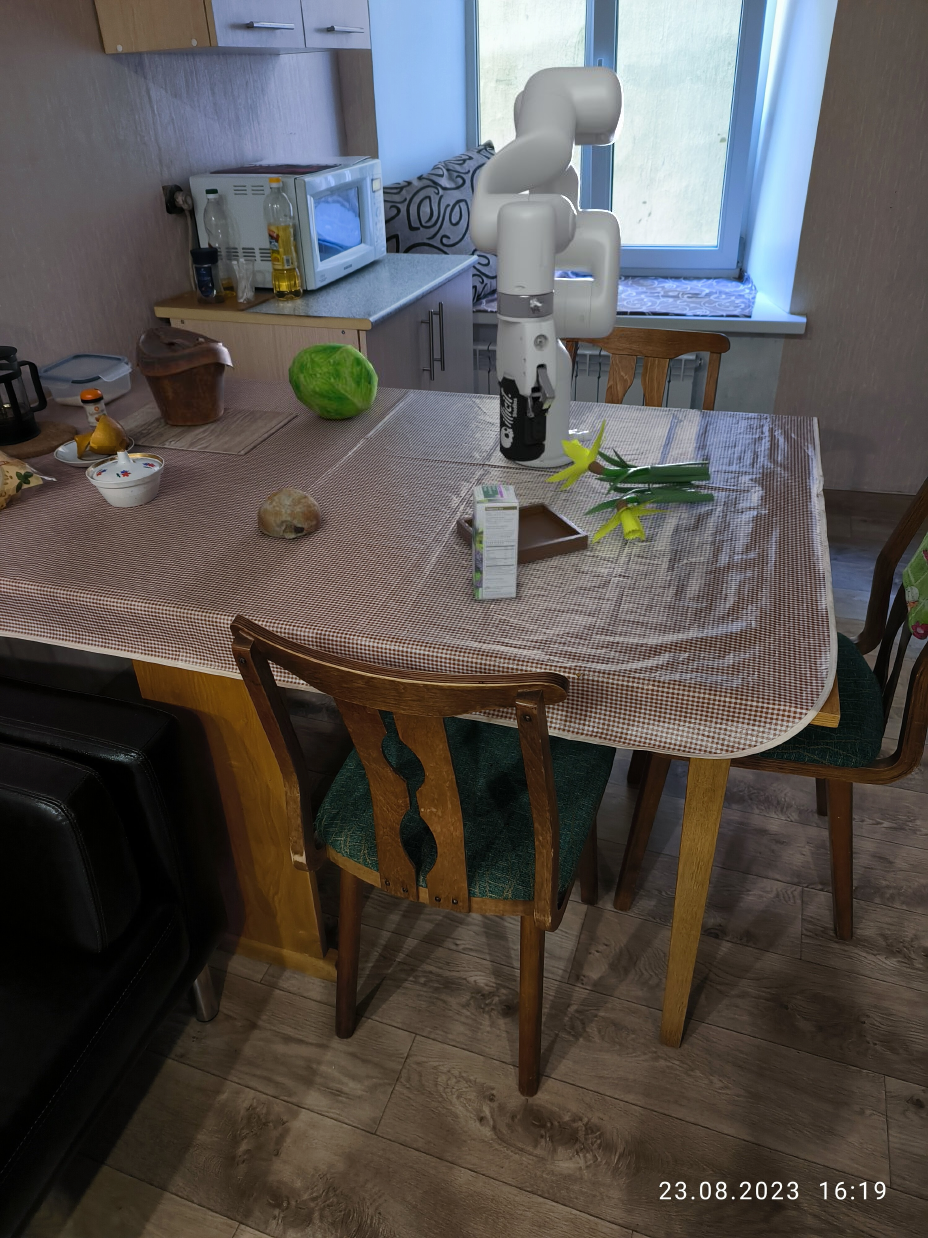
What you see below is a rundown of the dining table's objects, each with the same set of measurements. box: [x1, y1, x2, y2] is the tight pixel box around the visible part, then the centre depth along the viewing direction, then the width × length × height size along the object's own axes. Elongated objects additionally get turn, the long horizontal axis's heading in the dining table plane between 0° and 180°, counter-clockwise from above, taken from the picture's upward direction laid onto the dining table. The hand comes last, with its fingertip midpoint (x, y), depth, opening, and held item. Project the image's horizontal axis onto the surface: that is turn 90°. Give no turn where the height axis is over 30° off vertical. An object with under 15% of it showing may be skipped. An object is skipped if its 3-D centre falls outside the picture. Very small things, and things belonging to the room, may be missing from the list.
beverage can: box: [499, 372, 545, 463], centre depth 122 cm, size 7×7×12 cm
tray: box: [456, 501, 589, 566], centre depth 132 cm, size 16×14×2 cm
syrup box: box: [471, 484, 520, 601], centre depth 116 cm, size 6×6×14 cm
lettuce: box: [288, 342, 379, 420], centre depth 181 cm, size 17×20×17 cm
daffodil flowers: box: [544, 419, 715, 544], centre depth 132 cm, size 17×15×35 cm
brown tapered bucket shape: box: [134, 325, 236, 427], centre depth 181 cm, size 18×20×18 cm
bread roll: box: [256, 488, 323, 540], centre depth 137 cm, size 10×10×8 cm
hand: (522, 433), depth 123 cm, fingers closed on beverage can, 6 cm apart
